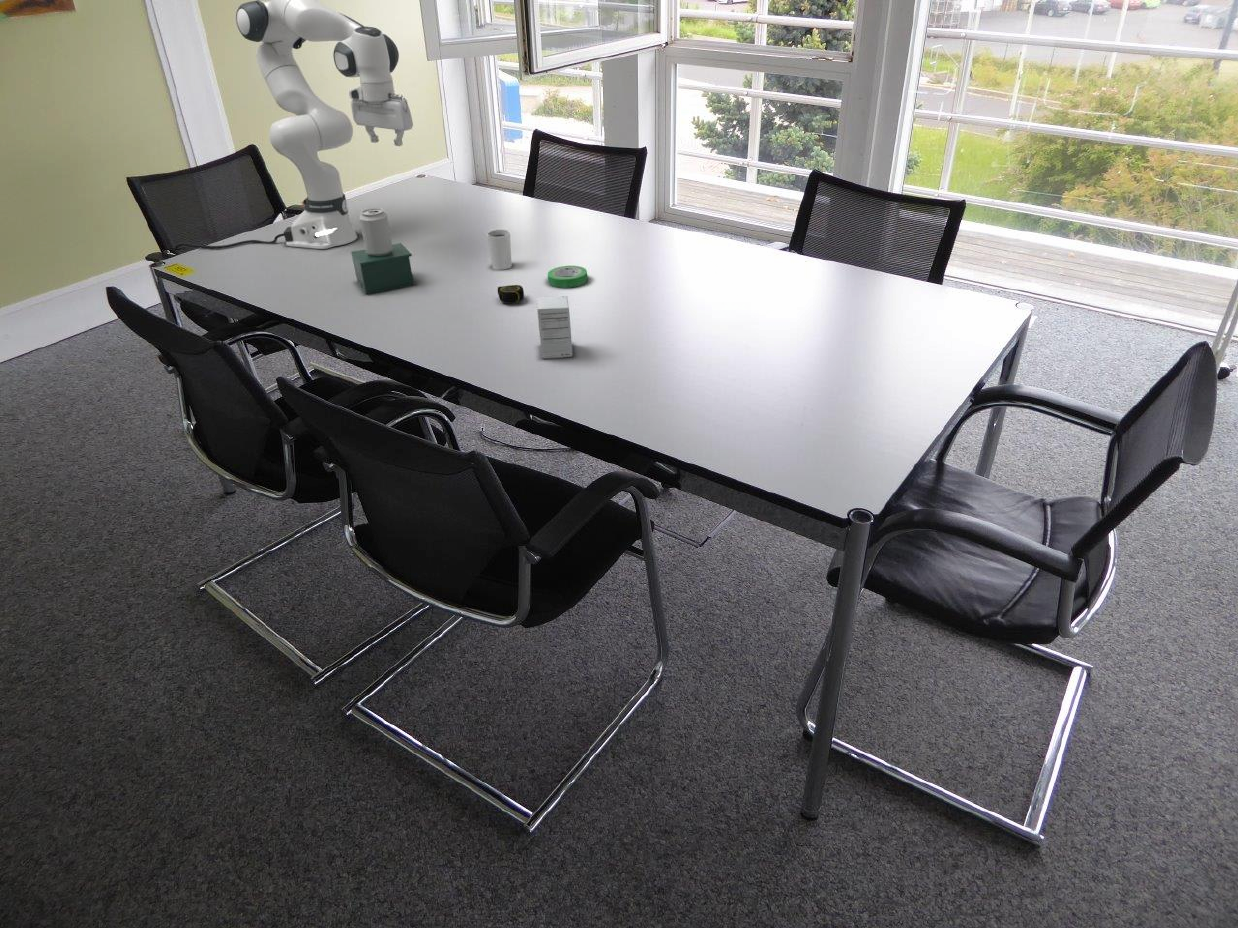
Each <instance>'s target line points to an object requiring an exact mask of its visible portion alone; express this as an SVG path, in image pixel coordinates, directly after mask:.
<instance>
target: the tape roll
mask: <svg viewBox="0 0 1238 928" xmlns="http://www.w3.org/2000/svg"><path fill="white" fill-rule="evenodd" d="M547 278H548V279H547V281H548V284H549V285H550V286H552V287H553V288H560V289H569V288H576V287H580V286H583V285H585V284H586V283H587V282H588V281H589V280H588V270H587V269H586V268H585V267H583V266H580V265H562V266H557V267H554V268H552V269H550V270H549V271H548V272H547Z"/></svg>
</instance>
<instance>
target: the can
mask: <svg viewBox="0 0 1238 928" xmlns="http://www.w3.org/2000/svg"><path fill="white" fill-rule="evenodd" d="M358 219H359V224H360V230H361V234H362V239H363V244H364V250H366V253H368V254H369V255H371V256H384V255H387V254H389V253H390V252H391V251H392V249H393V246H392V245H393V242H392V235H391V229H390V224H389V218H388V214H387V213H386V212H385V210H384V208H381V207H369V208H365V209H362V210H361V211H360V216H359V217H358Z"/></svg>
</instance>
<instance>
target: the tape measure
mask: <svg viewBox="0 0 1238 928" xmlns="http://www.w3.org/2000/svg"><path fill="white" fill-rule="evenodd" d="M497 295H498V299H499V300H500V302H501V303H505V304H517V303H520V302H521V301H523V300H524V299H525V291H524V288H523V286H522V285H520V284H509V285H504V286H502V285H501V286H498V287H497Z"/></svg>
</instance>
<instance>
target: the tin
mask: <svg viewBox="0 0 1238 928" xmlns="http://www.w3.org/2000/svg"><path fill="white" fill-rule="evenodd" d="M351 257H352V258H351V259H352V263H353V267H354V272H355V277H356V282H357V284H358V285H359V287H360V288H361V289H362V291H363V292H364V294H365V295H370V294H376V293H381V292H385V291H391V290H395V289H400V288H406V287H410V286H411V287H412V286H415V284H414V277H413V271H412V267H411V260H410V259H411V258H410V257H405V258H400V259H394V260H389V261H383V262H378V263H372V264H367V265H362V266H360V264H359V263H358V262H357V260H356V259H355V258H354V257H353V255H352V254H351Z"/></svg>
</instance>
